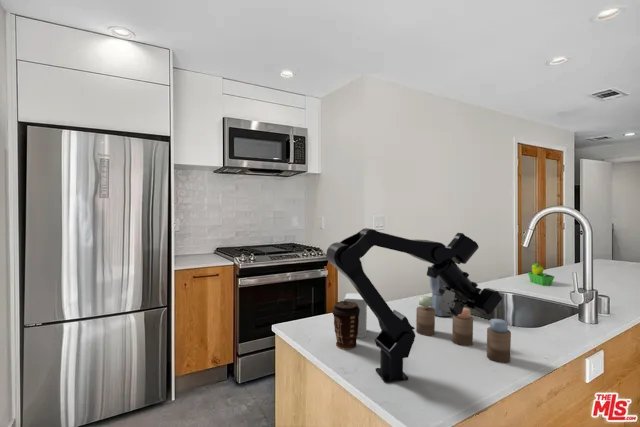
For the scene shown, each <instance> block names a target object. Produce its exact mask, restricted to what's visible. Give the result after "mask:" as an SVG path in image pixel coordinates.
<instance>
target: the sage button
mask: <svg viewBox="0 0 640 427" xmlns="http://www.w3.org/2000/svg"><path fill="white" fill-rule="evenodd" d="M418 305H419V306H425V307H430V306H432V305H433V298H432V296H428V295H420V296H419V297H418Z"/></svg>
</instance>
